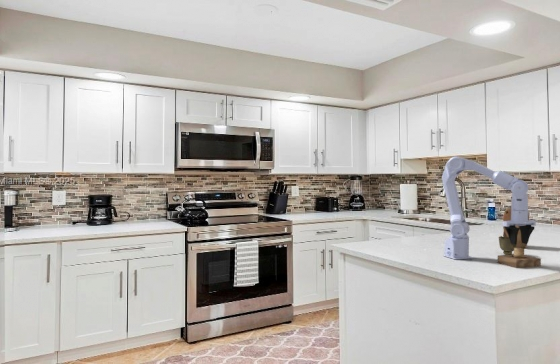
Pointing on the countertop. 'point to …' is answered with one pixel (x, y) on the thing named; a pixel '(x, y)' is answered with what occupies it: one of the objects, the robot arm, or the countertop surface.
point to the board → (519, 261)
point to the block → (507, 218)
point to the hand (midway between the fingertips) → (519, 243)
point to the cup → (506, 245)
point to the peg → (519, 253)
